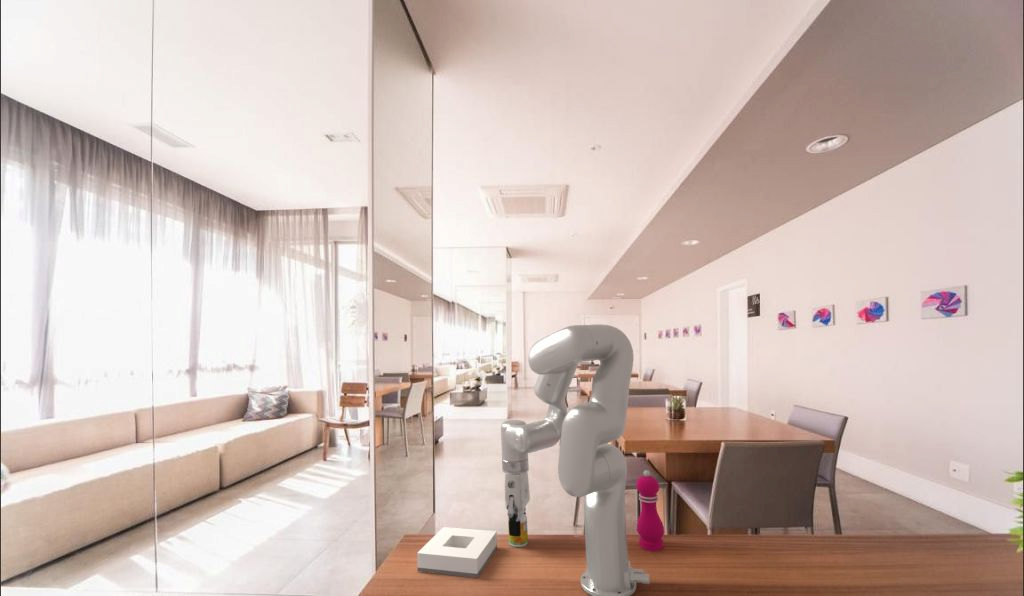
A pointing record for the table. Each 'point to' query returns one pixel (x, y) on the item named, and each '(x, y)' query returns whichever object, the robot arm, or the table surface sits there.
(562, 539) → the table surface
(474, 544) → the socket block
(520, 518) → the supplement bottle
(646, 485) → the pepper mill
